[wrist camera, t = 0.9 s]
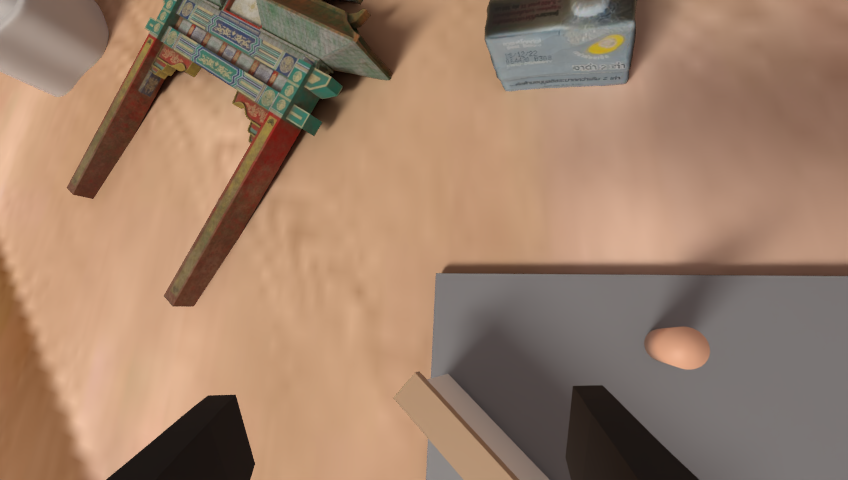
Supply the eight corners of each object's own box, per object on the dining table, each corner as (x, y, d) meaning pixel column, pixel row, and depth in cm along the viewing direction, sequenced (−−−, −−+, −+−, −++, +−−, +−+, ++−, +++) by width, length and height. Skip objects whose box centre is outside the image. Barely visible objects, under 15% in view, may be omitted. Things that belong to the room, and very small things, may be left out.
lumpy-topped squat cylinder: (54, 109, 46) (-57, 61, 38) (29, 40, 51) (-74, -14, 43) (117, 41, 44) (15, -23, 36) (85, -22, 49) (-10, -91, 41)
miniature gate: (28, 162, 39) (183, -135, 37) (93, 179, 44) (234, -82, 42) (180, 340, 28) (416, -66, 26) (244, 335, 33) (447, -5, 31)
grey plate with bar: (983, 708, 16) (1247, 953, 9) (426, 563, 23) (370, 646, 17) (907, 278, 19) (1066, 250, 13) (439, 275, 27) (396, 256, 20)
